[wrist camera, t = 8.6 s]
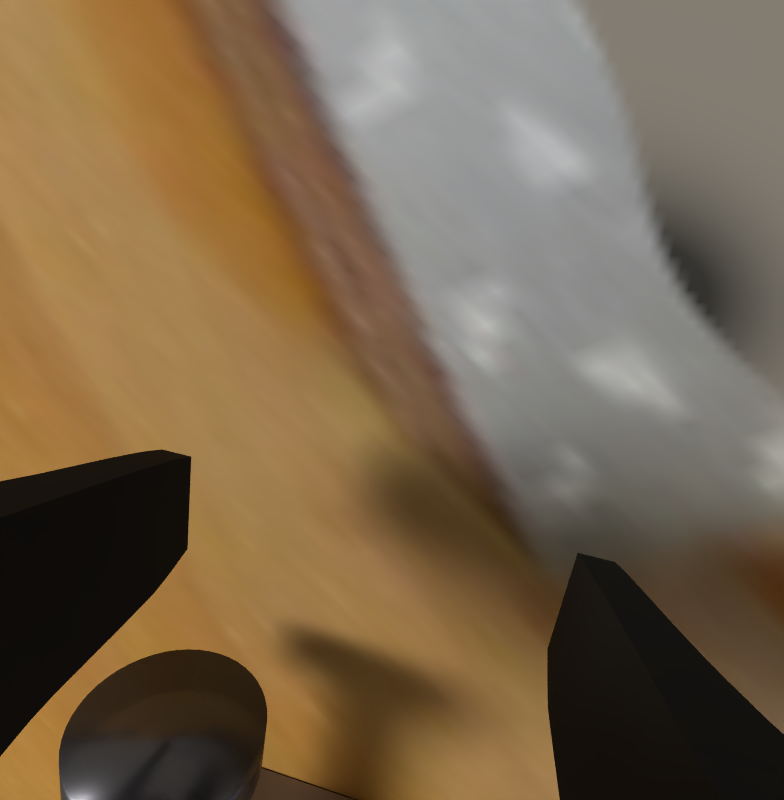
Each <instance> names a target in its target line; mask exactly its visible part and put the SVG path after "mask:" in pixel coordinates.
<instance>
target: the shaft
mask: <svg viewBox="0 0 784 800" xmlns="http://www.w3.org/2000/svg"><path fill="white" fill-rule="evenodd" d="M266 724H267V706H266V701H265V697H264V694H263V691H262V689H261V687H260V685H259V683H258V681H257V680H256V679H255V677H254V676H253V675H252V674H251V673H250V672H249V671H248V670H247V669H246V668H245V667H244V666H242V665H241V664H240V663H238V662H237V661H235V660H233V659H231V658H229V657H226V656H224V655H221V654H218V653H214V652H210V651H203V650H175V651H168V652H163V653H159V654H155V655H151V656H148V657H145V658H143V659H140V660H138V661H135V662H133V663H131V664H129V665H127V666H125V667H123V668H121V669H120V670H118V671H116V672H115V673H113V674H112V675H110V676H109V677H107V678H106V679H105V680H104V681H102V682H101V683H100V684H99V685H97V686H96V687H95V688H94V689H93V690H92V691H91V692H90V693H89V694H88V695H87V696H86V697H85V699H84V700H83V701H82V702H81V703H80V705H79V706H78V707H77V709H76V710H75V712H74V713H73V715H72V717H71V718H70V720H69V722H68V724H67V726H66V729H65V731H64V734H63V737H62V740H61V745H60V750H59V774H60V793H61V800H250V799H251V797H252V795H253V793H254V791H255V788H256V786H257V783H258V781H259V777H260V773H261V768H262V760H263V751H264V742H265V733H266Z"/></svg>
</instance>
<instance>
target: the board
mask: <svg viewBox="0 0 784 800" xmlns="http://www.w3.org/2000/svg"><path fill="white" fill-rule="evenodd" d="M250 800H353V799H350V798H347V797H345V796H342V795H339V794H336V793H333V792H330V791H327V790H324V789H321V788H318V787H315V786H312V785H310V784H307V783H304V782H301V781H298V780H295V779H292V778H289V777H286V776H283V775H280V774H277V773H274V772H272V771H269V770H266V769H263V768H261V773H260V777H259V781H258V783H257V786H256V788H255V791H254V793H253V795H252V797H251V799H250Z"/></svg>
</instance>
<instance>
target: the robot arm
mask: <svg viewBox="0 0 784 800" xmlns="http://www.w3.org/2000/svg"><path fill="white" fill-rule="evenodd" d="M190 472H191V457H190V456H186V455H182V454H178V453H174V452H170V451H166V450H153V451H145V452H139V453H133V454H128V455H123V456H118V457H113V458H109V459H104V460H99V461H95V462H90V463H86V464H81V465H77V466H72V467H68V468H63V469H59V470H54V471H50V472H45V473H40V474H36V475H31V476H25V477H20V478H15V479H10V480H5V481H0V756H1V755H2V754H3V752H4V751H5V750H6V749H7V748H8V746H9V745H10V744H11V743H12V742H13V740H14V739H15V738H16V737H17V736H18V734H19V733H20V732H21V731H22V730H23V728H24V727H25V726H26V725H27V724H28V722H29V721H30V720H31V719H32V718H33V717H34V716H35V715H36V713H37V712H38V711H39V710H40V709H41V708H42V707H43V706H44V705H45V704H46V703H47V702H48V701H49V699H50V698H51V697H52V696H53V695H54V694H55V693H56V692H57V691H58V690H59V689H60V688H61V687H62V686H63V685H64V684H65V683H66V682H67V681H68V680H69V679H70V678H71V677H72V676H73V675H74V674H75V673H76V672H77V671H78V670H79V669H80V668H81V667H82V666H83V665H84V664H85V663H86V662H87V661H88V660H89V659H90V658H91V657H92V656H93V655H94V654H95V653H96V652H97V651H98V650H99V649H100V648H101V647H102V646H103V645H104V644H105V643H106V642H107V641H108V640H109V639H110V638H111V637H112V636H113V635H114V634H115V633H116V632H117V631H118V630H119V629H120V628H121V627H122V626H123V625H124V624H125V622H126V621H127V620H128V619H129V618H130V617H131V616H132V615H133V614H134V613H135V612H136V611H137V610H138V609H139V608H140V607H141V606H142V605H143V604H144V603H145V602H146V601H147V600H148V599H149V598H150V597H151V596H152V595H153V594H154V592H155V591H156V590H157V589H158V587H159V586H160V585H161V584H162V582H163V581H164V580H165V579H166V577H167V576H168V575H169V573H170V572H171V571H172V569H173V568H174V567H175V565H176V564H177V562H178V561H179V560H180V558H181V557H182V556H183V554H184V553H185V551H186V550H187V545H188V521H189V496H190ZM548 711H549V720H550V728H551V736H552V744H553V751H554V759H555V767H556V774H557V782H558V789H559V797H560V800H784V734H782V733H781V732H780V731H779V730H778V729H777V728H776V727H775V726H774V725H773V724H772V723H770V722H769V721H768V720H767V719H766V718H765V717H764V716H763V715H762V714H761V713H760V712H759V711H758V710H757V709H756V708H755V707H754V706H753V705H752V704H751V703H750V702H749V701H748V700H747V699H746V698H745V697H744V696H742V695H741V694H740V693H739V692H738V691H737V690H736V689H735V688H734V687H733V686H732V685H731V684H730V683H729V682H728V681H727V680H726V679H725V678H724V677H723V676H722V675H721V674H720V673H719V672H718V671H717V670H716V669H715V668H714V667H713V666H712V665H711V664H710V663H709V662H708V661H707V660H706V659H705V658H704V657H703V655H702V654H701V653H700V652H699V651H698V650H697V649H696V648H695V647H694V646H693V645H692V644H691V643H690V642H689V641H688V640H687V639H686V638H685V636H684V635H683V634H682V633H681V632H680V631H679V630H678V629H677V628H676V627H675V626H674V625H673V624H672V622H671V621H670V620H669V619H668V618H667V617H666V616H665V615H664V614H663V613H662V611H661V610H660V609H659V608H658V607H657V606H656V605H655V604H654V603H653V602H652V600H651V599H650V598H649V597H648V596H647V595H646V594H645V593H644V592H643V591H642V589H641V588H640V587H639V586H638V585H637V584H636V583H635V582H634V581H633V580H632V579H631V578H630V577H629V575H628V574H627V573H626V572H625V571H624V570H623V569H622V568H621V567H620V566H619V565H617V564H616V563H615V562H612V561H608V560H604V559H600V558H596V557H592V556H588V555H584V554H580V553H578V554H577V557H576V560H575V563H574V567H573V570H572V573H571V576H570V579H569V582H568V586H567V589H566V592H565V595H564V598H563V602H562V605H561V608H560V611H559V614H558V617H557V621H556V624H555V627H554V630H553V633H552V637H551V640H550V643H549V646H548Z"/></svg>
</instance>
